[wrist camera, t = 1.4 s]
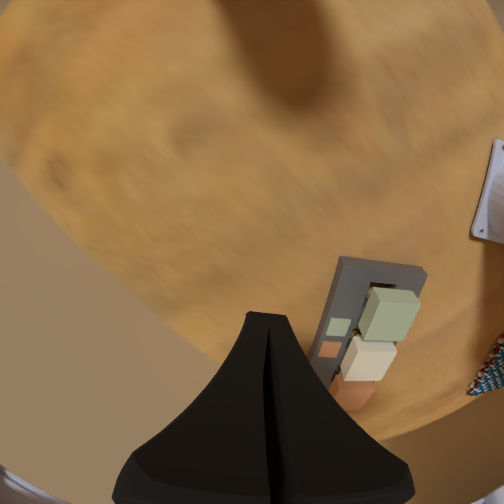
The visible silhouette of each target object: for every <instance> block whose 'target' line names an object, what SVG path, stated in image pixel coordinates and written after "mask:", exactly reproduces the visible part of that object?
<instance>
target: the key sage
mask: <svg viewBox="0 0 504 504" xmlns="http://www.w3.org/2000/svg"><path fill="white" fill-rule="evenodd" d="M420 307H421V303H420V301H419V300H418V298H417V297H416V295H415V294H414V292H413V291H408V290H398V289H388V288H378V287H373V288H372V291H371V293H370V296H369V299H368V301H367V304H366V306H365V309H364V312H363V314H362V317H361V319H360V322H359V324H358V326H359V329H360V331H361V334H362V337H363V340H375V341H404V339H405V337H406V335H407V333H408V331H409V329H410V327H411V325H412V323H413V321H414V319H415V317H416V315H417V313H418V311H419V309H420Z"/></svg>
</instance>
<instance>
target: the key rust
mask: <svg viewBox="0 0 504 504" xmlns="http://www.w3.org/2000/svg"><path fill="white" fill-rule="evenodd" d="M328 391H329V392H330V394H331V395H332V396H333V398H334V399H335V400H336V401H337V403H338V404H339V405H340V406H341V407H342V408H343V409H344V411H361V410H362V409H363V407H364V406H365V404H366V403H367V401H368V400H369V398H370V397H371V395H372V394H373V392H374V391H375V386H374V383H373V381H344V380H343V376H342V371H341V370H340V372H339V374H338V375H336V376H335V378H334V380H333V382H332V384H331V386H330V388H329V390H328Z"/></svg>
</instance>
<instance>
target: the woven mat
mask: <svg viewBox="0 0 504 504" xmlns="http://www.w3.org/2000/svg"><path fill="white" fill-rule="evenodd" d="M497 342H498V344H496V345H495V346H494V348H496V350H495V351H491V352H490V354H489V358H487V360H486V361H487V362H489V363H487V364H483V365H481V367H480V369H482V368H484V369H483V370H481V371H479V372H478V374H477V376H476V377H475V379H474V380H476V379H477V381H474V382H472V383H471V384H470V386H469V388H468V389H467V390H470V391H469V393H468V395H470V394H471V393H472V394H471V396H473V395H475V396H478V394H480V393H482V392H483V393H486V392H487V391H489V390H490V391H492V390H493V389H495V388H497V389H499V388H500V387H502V386H504V335H502V336H501V337H499V338H498V340H497ZM467 390H466V391H467Z"/></svg>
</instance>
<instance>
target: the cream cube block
mask: <svg viewBox="0 0 504 504" xmlns="http://www.w3.org/2000/svg"><path fill="white" fill-rule="evenodd" d="M396 354H397V351H396V348H395V346H394V344H393V341H375V340H363V337H362V335H360V334H357V335H356V336H353V338H352V341H351V343H350V345H349V347H348V350H347V352H346V354H345V356H344V359H343V361H342V363H341V365H340V367H341V371H342V376H343V380H344V381H381V379H382V378H383V376H384V374H385V373H386V371H387V369H388V368H389V366H390V364H391V362H392V361H393V359H394V357H395V355H396Z"/></svg>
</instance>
